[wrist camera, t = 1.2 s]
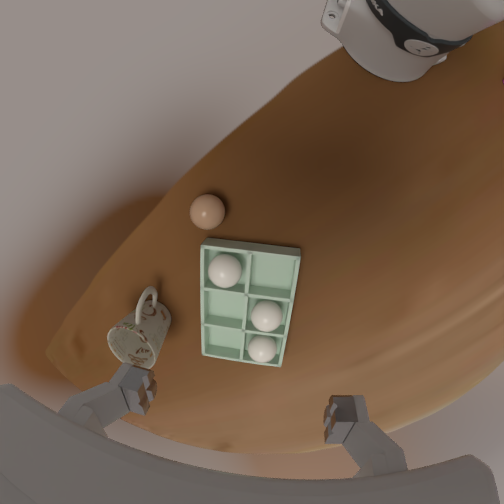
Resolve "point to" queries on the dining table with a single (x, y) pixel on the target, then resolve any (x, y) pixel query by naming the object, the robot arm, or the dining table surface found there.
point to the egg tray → (246, 297)
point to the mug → (141, 332)
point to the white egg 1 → (224, 270)
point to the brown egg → (207, 211)
